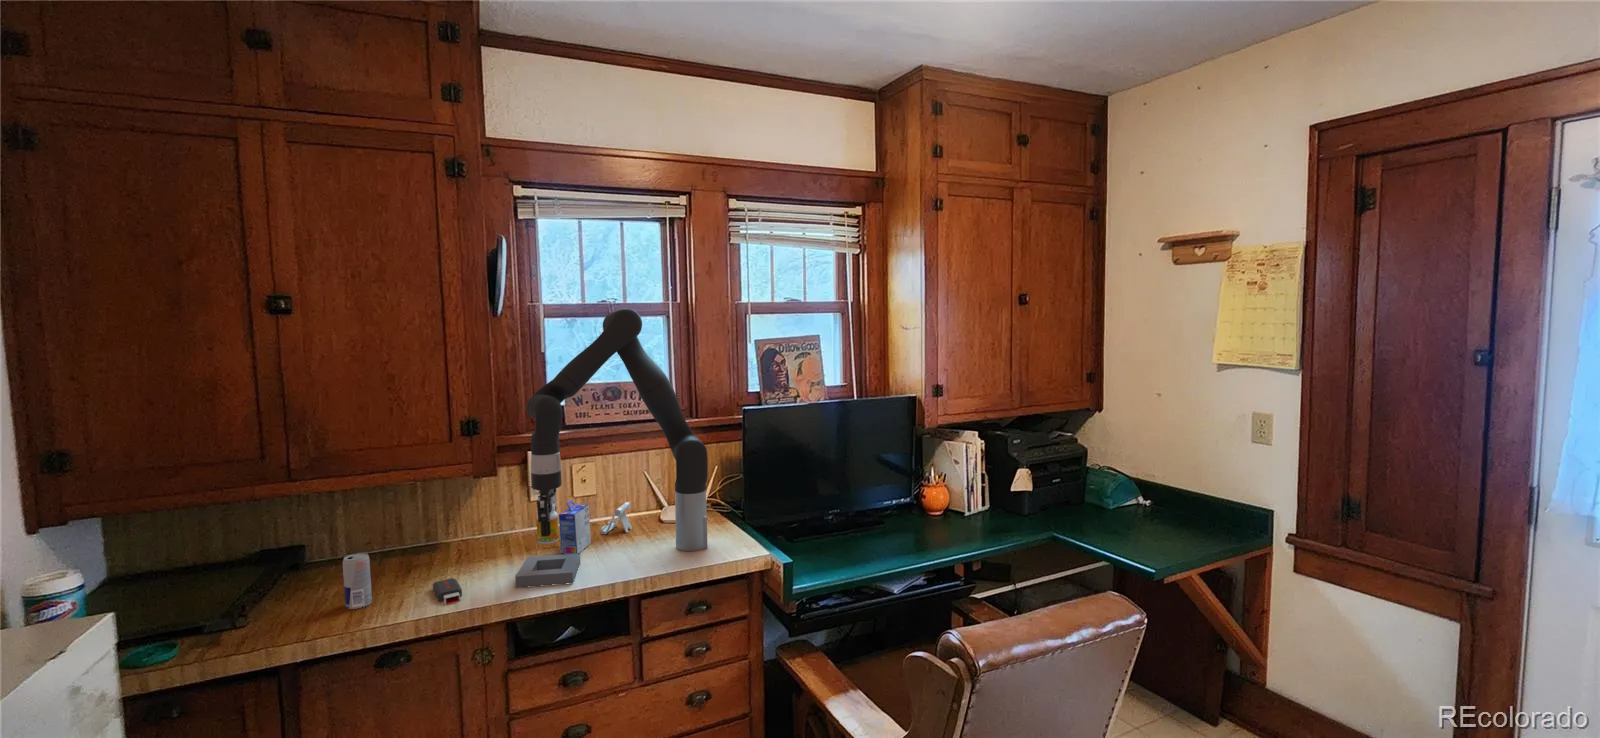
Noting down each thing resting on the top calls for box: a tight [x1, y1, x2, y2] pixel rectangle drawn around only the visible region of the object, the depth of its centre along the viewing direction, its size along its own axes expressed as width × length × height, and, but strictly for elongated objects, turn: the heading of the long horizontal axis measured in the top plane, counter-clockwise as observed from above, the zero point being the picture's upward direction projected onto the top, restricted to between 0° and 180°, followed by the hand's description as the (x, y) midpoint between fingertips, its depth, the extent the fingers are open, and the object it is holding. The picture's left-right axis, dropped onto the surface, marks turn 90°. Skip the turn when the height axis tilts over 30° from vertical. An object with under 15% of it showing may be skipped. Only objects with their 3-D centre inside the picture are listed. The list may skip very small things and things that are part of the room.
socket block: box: [515, 553, 581, 589], centre depth 177 cm, size 14×14×3 cm
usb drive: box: [432, 577, 463, 605], centre depth 165 cm, size 5×12×3 cm, turn 37°
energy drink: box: [342, 552, 373, 610], centre depth 159 cm, size 5×5×12 cm
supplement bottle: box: [536, 504, 560, 545], centre depth 176 cm, size 5×5×10 cm
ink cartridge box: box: [558, 499, 592, 555], centre depth 197 cm, size 10×6×14 cm, turn 174°
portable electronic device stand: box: [600, 501, 633, 535], centre depth 214 cm, size 9×8×8 cm
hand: (548, 531), depth 176 cm, fingers closed on supplement bottle, 5 cm apart
